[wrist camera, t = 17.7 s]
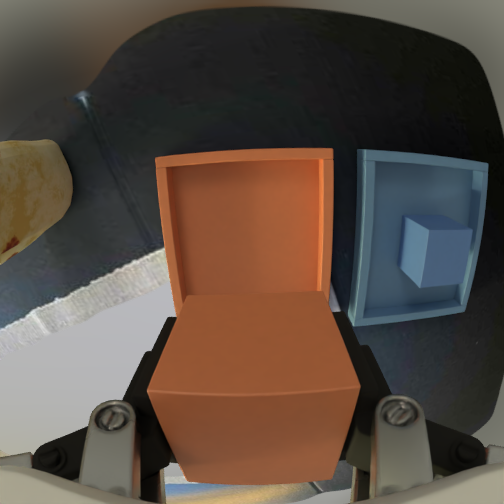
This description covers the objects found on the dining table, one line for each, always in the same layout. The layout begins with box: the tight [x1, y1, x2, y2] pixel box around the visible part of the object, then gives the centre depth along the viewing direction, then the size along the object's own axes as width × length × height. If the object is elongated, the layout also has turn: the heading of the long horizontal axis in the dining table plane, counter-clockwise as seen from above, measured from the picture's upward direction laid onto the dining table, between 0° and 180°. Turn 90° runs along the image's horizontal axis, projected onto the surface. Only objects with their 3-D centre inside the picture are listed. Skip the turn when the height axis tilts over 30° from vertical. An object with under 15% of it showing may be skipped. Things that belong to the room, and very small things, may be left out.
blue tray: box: [348, 149, 488, 327], centre depth 23 cm, size 15×13×2 cm
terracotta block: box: [147, 291, 361, 485], centre depth 8 cm, size 4×4×4 cm
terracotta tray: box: [155, 148, 334, 317], centre depth 23 cm, size 15×13×2 cm
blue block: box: [397, 215, 473, 288], centre depth 21 cm, size 4×4×4 cm
